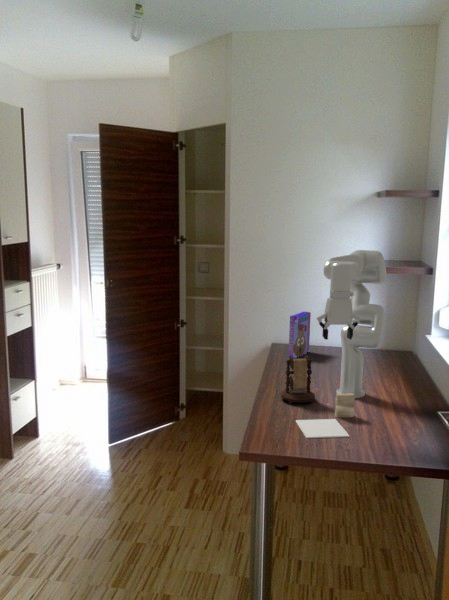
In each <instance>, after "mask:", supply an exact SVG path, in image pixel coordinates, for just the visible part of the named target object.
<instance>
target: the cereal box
mask: <svg viewBox="0 0 449 600" xmlns="http://www.w3.org/2000/svg"><path fill="white" fill-rule="evenodd" d="M311 314H312V313H311V312H309V311H301V312H298V313H295V314H291V315H290V316H289V334H288V336H289V338H288V358H290V356H291V355H292V356H293V357H294V358H293V359H298V358H300V357H302V356H304V355H306V354H308V353H309V352H310V337H311V336H310V335H311V332H310V331H311V316H312V315H311ZM308 351H309V352H308ZM307 352H308V353H307ZM305 353H306V354H305ZM303 354H304V355H303ZM301 355H302V356H301ZM299 356H300V357H299ZM297 357H298V358H297Z"/></svg>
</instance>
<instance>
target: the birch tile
mask: <svg viewBox="0 0 449 600" xmlns="http://www.w3.org/2000/svg"><path fill="white" fill-rule="evenodd" d="M355 400H356V398H355V395H354V394H353V393H351V394H337V393H336V394H335V402H334V403H335V404H334V416H335V417H336V418H354V417H355V416H354V415H355Z"/></svg>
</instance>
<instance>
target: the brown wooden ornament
mask: <svg viewBox="0 0 449 600" xmlns="http://www.w3.org/2000/svg"><path fill="white" fill-rule="evenodd" d="M288 358H289V359H287V360H286V361H285V362H286V368H285V369H286V370H285V375H286V378H285V389H284V390H281V392H280V397H281V398H282V399H283V400H285V401H288V404H289V405H292V403H301V404H302V403H310V404H312V403H314V402H313V401H314V400H315V399H316V394H315V393H314V392H312V391H311V384H312V379H311V374H312V373H313V371H312V363H313V360H312V359H311V358H309V356H308V355H307V354H304V358H293V356H292V355H291V356H290V357H288ZM290 369H291V370H290ZM292 375H293V376H292Z"/></svg>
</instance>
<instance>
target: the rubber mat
mask: <svg viewBox="0 0 449 600" xmlns="http://www.w3.org/2000/svg"><path fill="white" fill-rule="evenodd" d="M295 423H296V424H297V426H298V427H299V429H300V431H301V433H302V434H303V435H304V437H305V438H306V439H329V438H331V439H332V438H350V435H349V433H348V431H346V430H345V428H344V427H343V426H342V425H341V423H339V421H338V420H337V419H336V418H325V419H323V418H321V419H320V418H319V419H297V420H295Z"/></svg>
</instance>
